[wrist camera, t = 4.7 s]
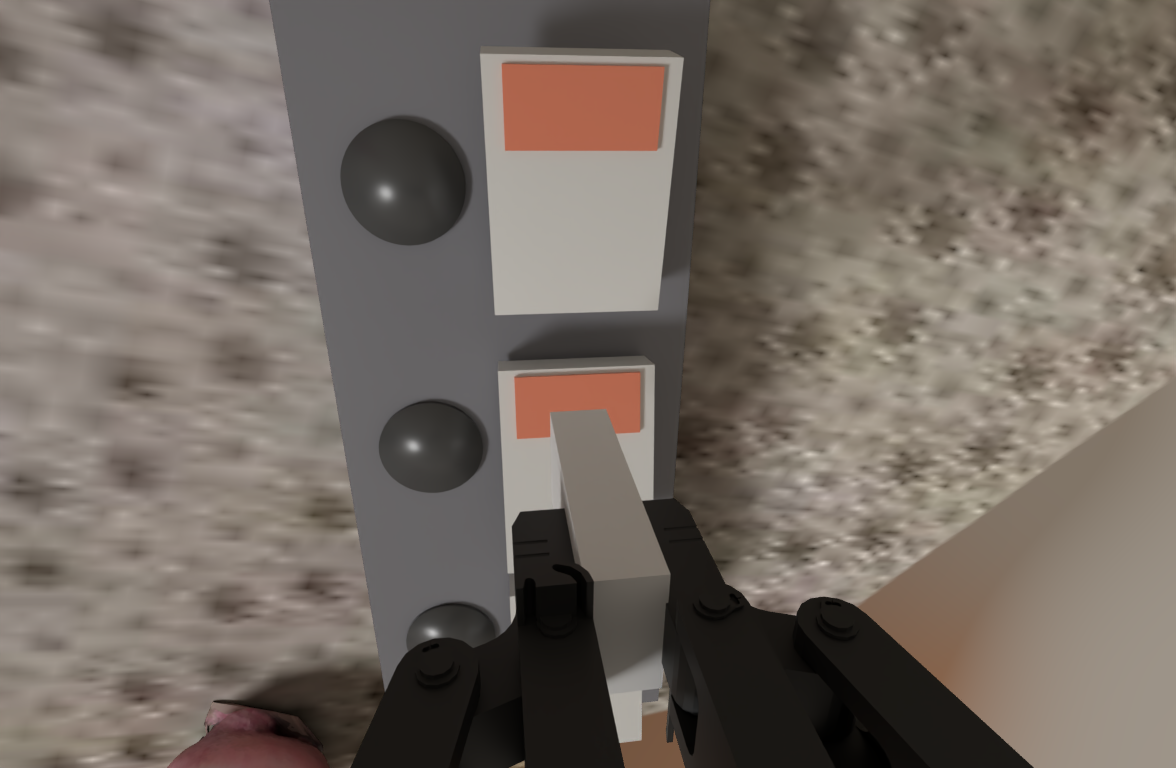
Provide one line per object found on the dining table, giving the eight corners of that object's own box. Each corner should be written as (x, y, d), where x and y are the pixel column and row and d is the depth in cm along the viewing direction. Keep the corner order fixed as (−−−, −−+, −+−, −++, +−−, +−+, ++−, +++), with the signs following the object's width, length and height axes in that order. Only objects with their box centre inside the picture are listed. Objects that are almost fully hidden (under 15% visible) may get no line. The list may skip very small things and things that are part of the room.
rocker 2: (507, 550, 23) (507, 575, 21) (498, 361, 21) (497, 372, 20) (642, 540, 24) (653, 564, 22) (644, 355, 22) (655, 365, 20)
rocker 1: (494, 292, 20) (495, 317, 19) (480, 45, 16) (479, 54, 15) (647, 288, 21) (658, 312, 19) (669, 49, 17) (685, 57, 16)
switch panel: (403, 657, 31) (390, 733, 28) (308, 6, 20) (264, -17, 16) (640, 635, 33) (659, 704, 29) (674, 16, 22) (712, -2, 18)
